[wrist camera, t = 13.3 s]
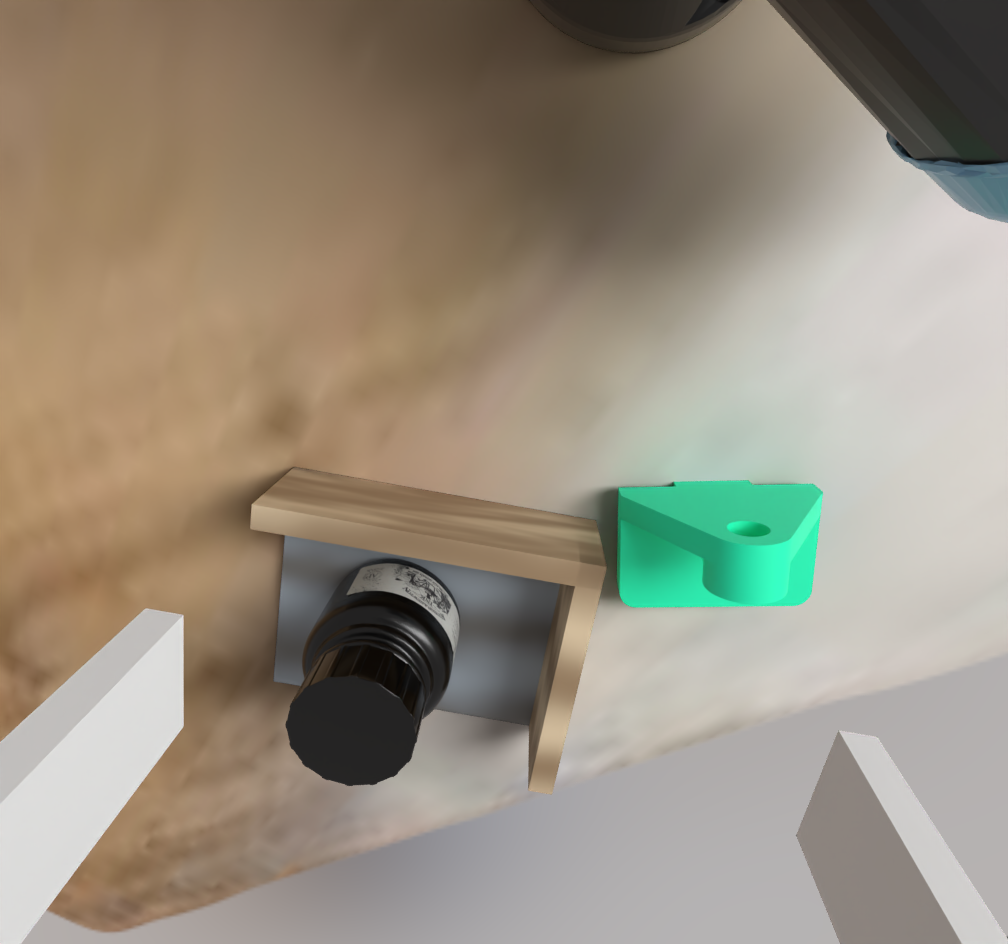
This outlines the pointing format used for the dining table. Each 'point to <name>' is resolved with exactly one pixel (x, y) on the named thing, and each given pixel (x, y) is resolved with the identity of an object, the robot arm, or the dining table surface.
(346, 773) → the ink bottle
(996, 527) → the dining table surface
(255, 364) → the dining table surface
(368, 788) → the dining table surface
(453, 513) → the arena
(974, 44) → the robot arm
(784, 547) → the camera mount
